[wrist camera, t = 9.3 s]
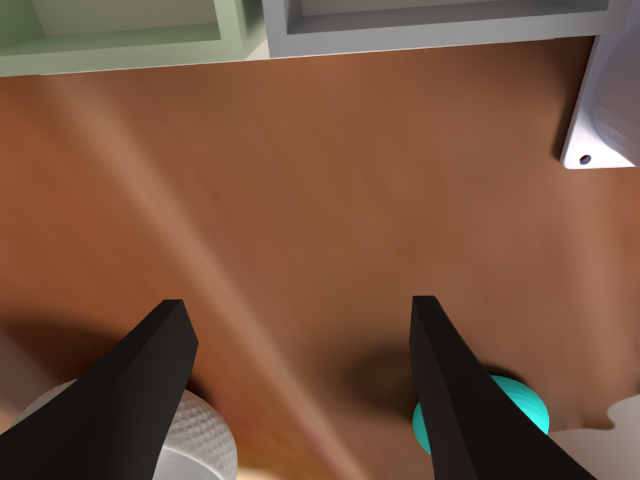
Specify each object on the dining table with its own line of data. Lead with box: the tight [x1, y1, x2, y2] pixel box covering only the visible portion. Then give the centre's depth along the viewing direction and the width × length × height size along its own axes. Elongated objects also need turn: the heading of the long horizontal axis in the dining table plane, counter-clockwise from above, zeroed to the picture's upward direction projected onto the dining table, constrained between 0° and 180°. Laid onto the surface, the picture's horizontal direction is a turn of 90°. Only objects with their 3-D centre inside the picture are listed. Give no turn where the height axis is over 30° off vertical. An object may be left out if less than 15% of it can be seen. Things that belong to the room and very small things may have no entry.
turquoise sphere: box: [413, 375, 549, 455], centre depth 28 cm, size 10×10×10 cm
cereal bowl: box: [9, 379, 237, 480], centre depth 32 cm, size 17×17×7 cm
